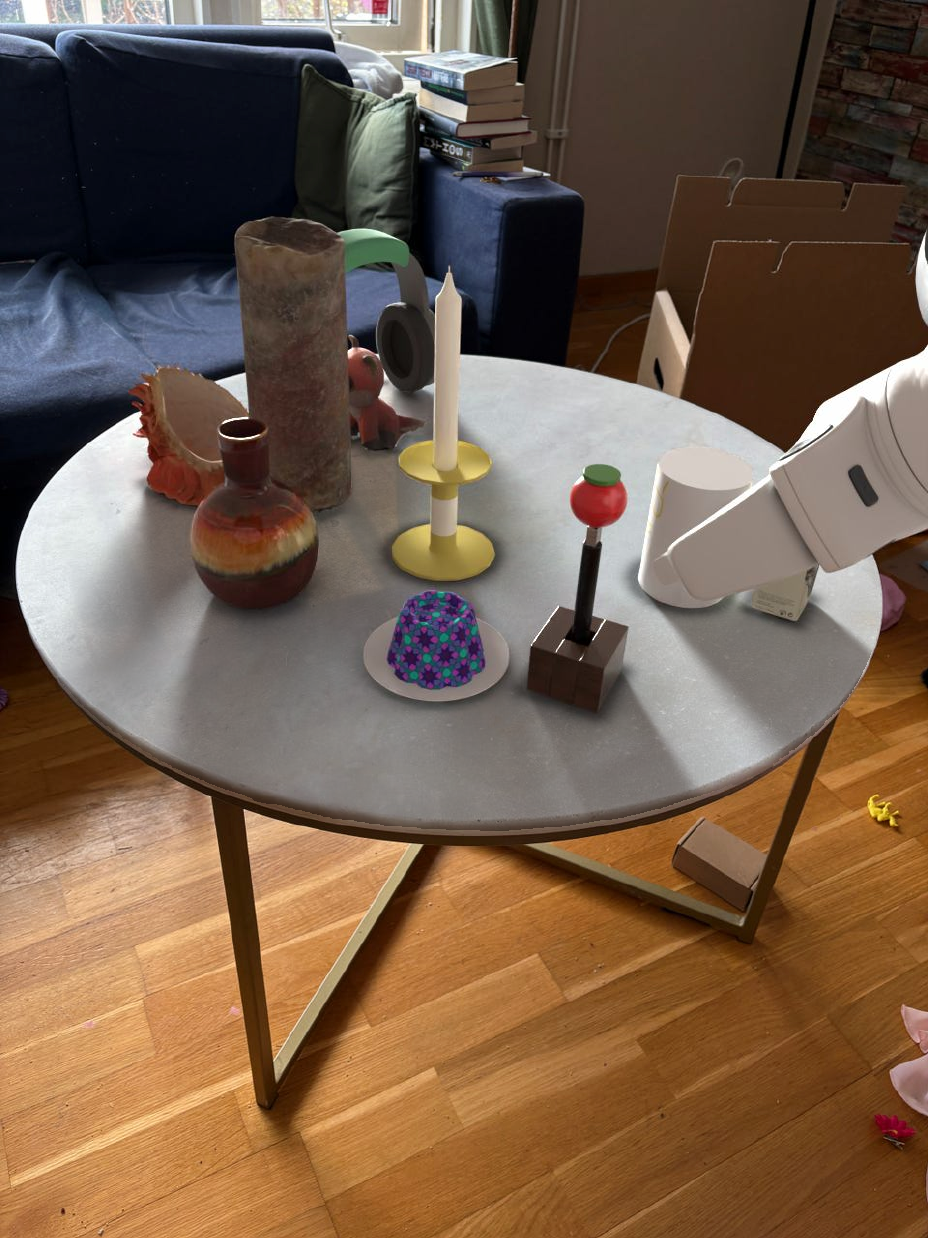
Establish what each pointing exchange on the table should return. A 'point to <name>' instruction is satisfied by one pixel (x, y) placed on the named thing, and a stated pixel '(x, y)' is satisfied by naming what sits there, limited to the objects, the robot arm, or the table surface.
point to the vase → (252, 526)
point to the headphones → (398, 310)
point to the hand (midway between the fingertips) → (699, 543)
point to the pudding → (436, 650)
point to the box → (786, 595)
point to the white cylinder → (687, 508)
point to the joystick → (593, 535)
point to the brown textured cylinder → (298, 352)
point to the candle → (444, 468)
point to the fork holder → (576, 661)
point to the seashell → (184, 431)
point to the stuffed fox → (373, 403)
